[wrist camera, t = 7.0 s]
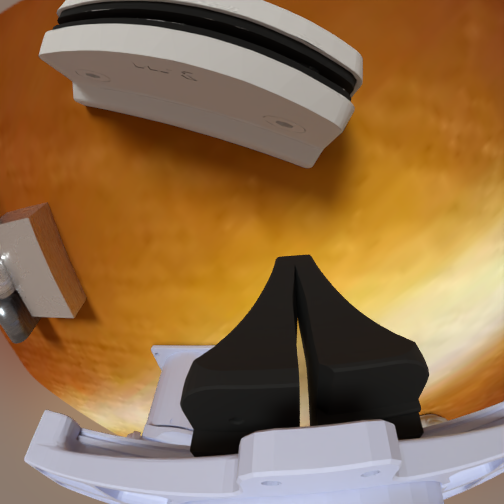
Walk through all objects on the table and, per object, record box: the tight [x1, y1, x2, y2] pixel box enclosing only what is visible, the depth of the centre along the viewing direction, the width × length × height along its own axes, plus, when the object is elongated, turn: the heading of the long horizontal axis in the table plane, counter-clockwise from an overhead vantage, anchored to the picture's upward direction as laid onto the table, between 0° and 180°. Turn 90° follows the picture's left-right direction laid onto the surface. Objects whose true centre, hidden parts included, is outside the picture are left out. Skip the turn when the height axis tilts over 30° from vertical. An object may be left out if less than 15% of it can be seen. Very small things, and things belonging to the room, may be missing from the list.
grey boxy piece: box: [0, 202, 87, 318], centre depth 23 cm, size 10×9×5 cm
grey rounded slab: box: [39, 0, 363, 168], centre depth 13 cm, size 17×5×10 cm, turn 71°
